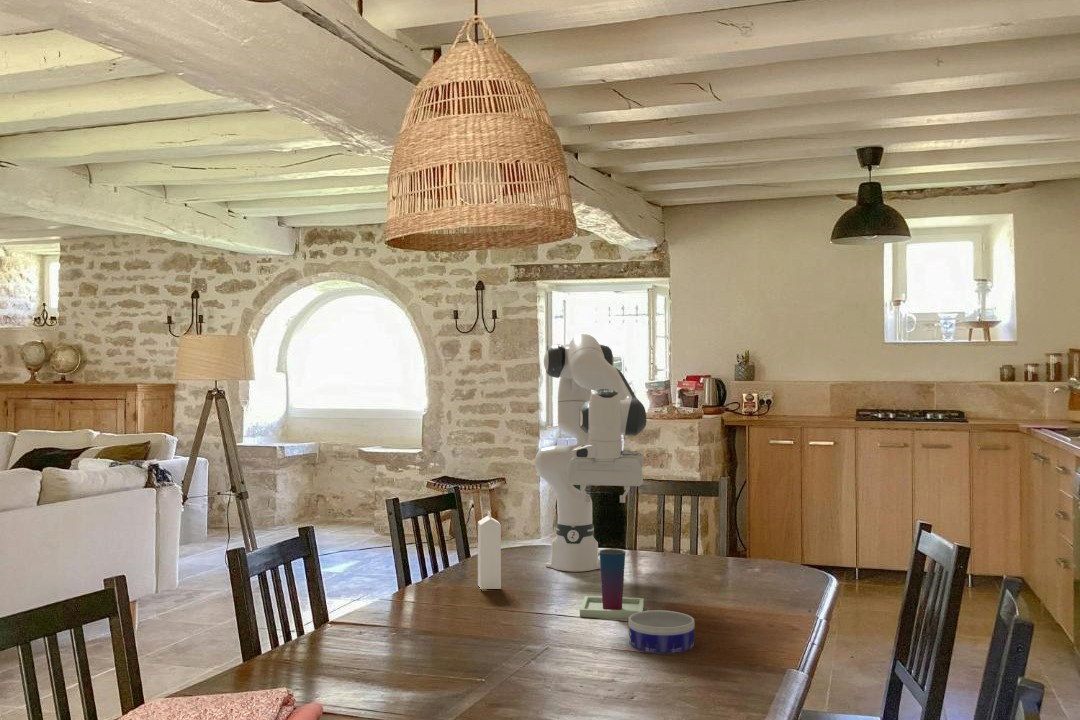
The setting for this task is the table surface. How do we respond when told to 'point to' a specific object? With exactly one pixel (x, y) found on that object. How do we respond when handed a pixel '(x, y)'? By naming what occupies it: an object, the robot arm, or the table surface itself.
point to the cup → (612, 578)
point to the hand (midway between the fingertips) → (604, 502)
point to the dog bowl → (661, 631)
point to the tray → (594, 608)
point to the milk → (489, 553)
